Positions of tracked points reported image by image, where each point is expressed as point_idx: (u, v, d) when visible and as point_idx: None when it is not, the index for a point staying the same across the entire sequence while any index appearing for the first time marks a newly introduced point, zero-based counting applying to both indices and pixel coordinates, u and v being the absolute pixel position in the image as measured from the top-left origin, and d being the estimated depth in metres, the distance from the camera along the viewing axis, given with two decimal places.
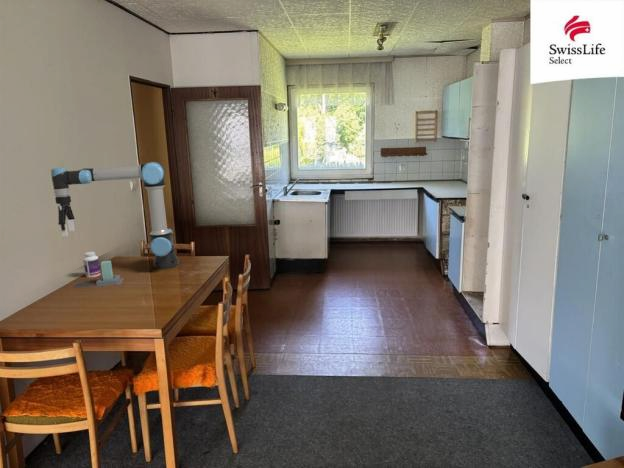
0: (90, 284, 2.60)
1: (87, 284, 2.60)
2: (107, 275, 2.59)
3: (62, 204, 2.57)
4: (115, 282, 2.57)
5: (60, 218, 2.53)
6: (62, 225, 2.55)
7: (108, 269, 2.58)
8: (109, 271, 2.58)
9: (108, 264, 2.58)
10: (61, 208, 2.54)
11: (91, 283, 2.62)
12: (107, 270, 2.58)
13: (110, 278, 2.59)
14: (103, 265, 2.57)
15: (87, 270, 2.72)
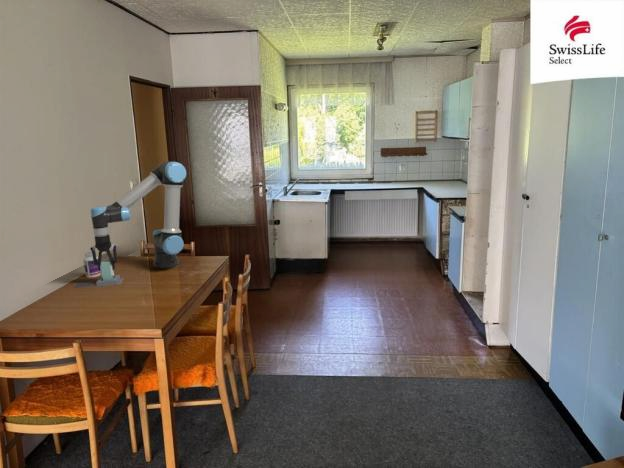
0: (90, 284, 2.60)
1: (87, 284, 2.60)
2: (107, 275, 2.59)
3: None
4: (115, 282, 2.57)
5: None
6: None
7: (108, 269, 2.58)
8: (109, 271, 2.58)
9: (108, 264, 2.58)
10: None
11: (91, 283, 2.62)
12: (107, 270, 2.58)
13: (110, 278, 2.59)
14: (103, 265, 2.57)
15: (87, 270, 2.72)
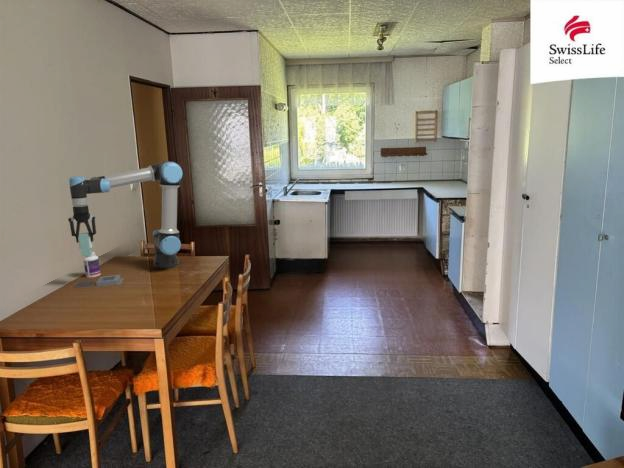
0: (90, 284, 2.60)
1: (87, 284, 2.60)
2: (85, 247, 2.54)
3: None
4: (115, 282, 2.57)
5: None
6: None
7: (86, 241, 2.53)
8: (87, 243, 2.54)
9: (86, 236, 2.53)
10: None
11: (91, 283, 2.62)
12: (85, 242, 2.53)
13: (88, 250, 2.54)
14: (81, 236, 2.52)
15: (87, 270, 2.72)
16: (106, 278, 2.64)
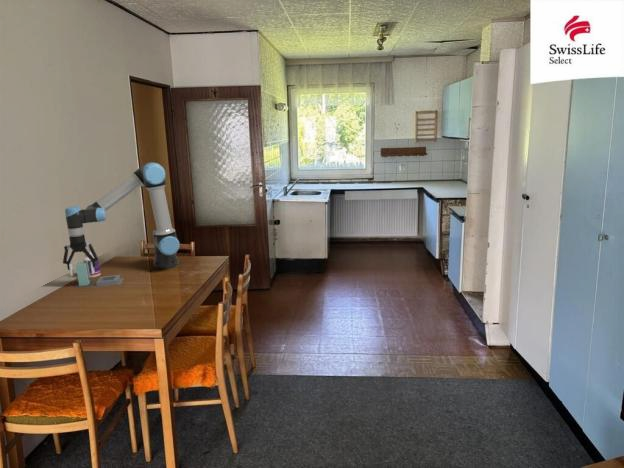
0: (90, 284, 2.60)
1: None
2: (82, 277, 2.57)
3: None
4: (115, 282, 2.57)
5: None
6: None
7: (83, 271, 2.57)
8: (84, 273, 2.57)
9: (83, 266, 2.56)
10: None
11: (91, 283, 2.62)
12: (82, 272, 2.57)
13: (86, 280, 2.58)
14: (78, 266, 2.56)
15: None
16: (106, 278, 2.64)
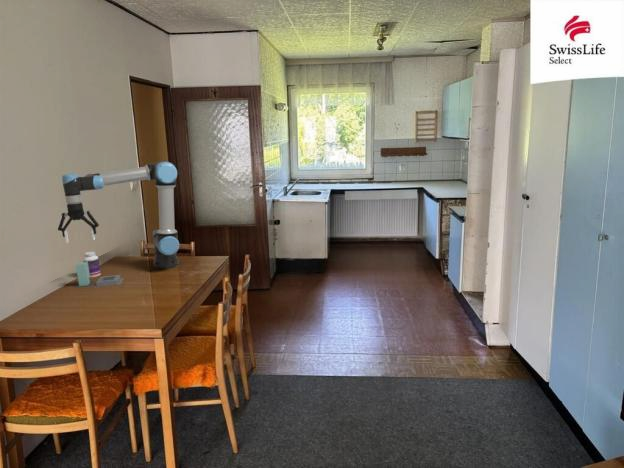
0: (90, 284, 2.60)
1: None
2: (82, 277, 2.57)
3: None
4: (115, 282, 2.57)
5: None
6: None
7: (83, 271, 2.57)
8: (84, 273, 2.57)
9: (83, 266, 2.56)
10: None
11: (91, 283, 2.62)
12: (82, 272, 2.57)
13: (86, 280, 2.58)
14: (78, 266, 2.56)
15: None
16: (106, 278, 2.64)
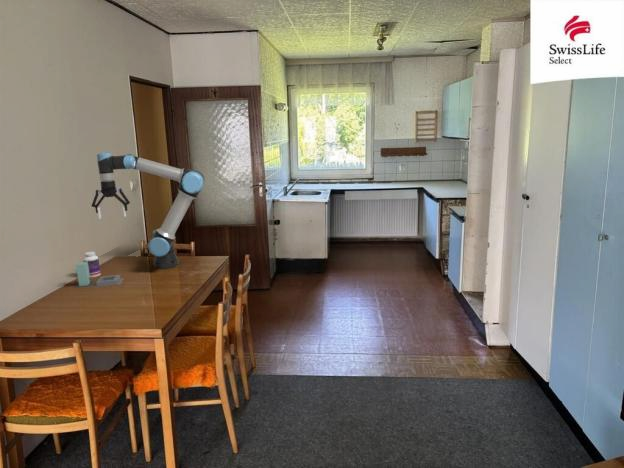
0: (90, 284, 2.60)
1: None
2: (82, 277, 2.57)
3: None
4: (115, 282, 2.57)
5: (93, 201, 2.65)
6: None
7: (83, 271, 2.57)
8: (84, 273, 2.57)
9: (83, 266, 2.56)
10: None
11: (91, 283, 2.62)
12: (82, 272, 2.57)
13: (86, 280, 2.58)
14: (78, 266, 2.56)
15: None
16: (106, 278, 2.64)
